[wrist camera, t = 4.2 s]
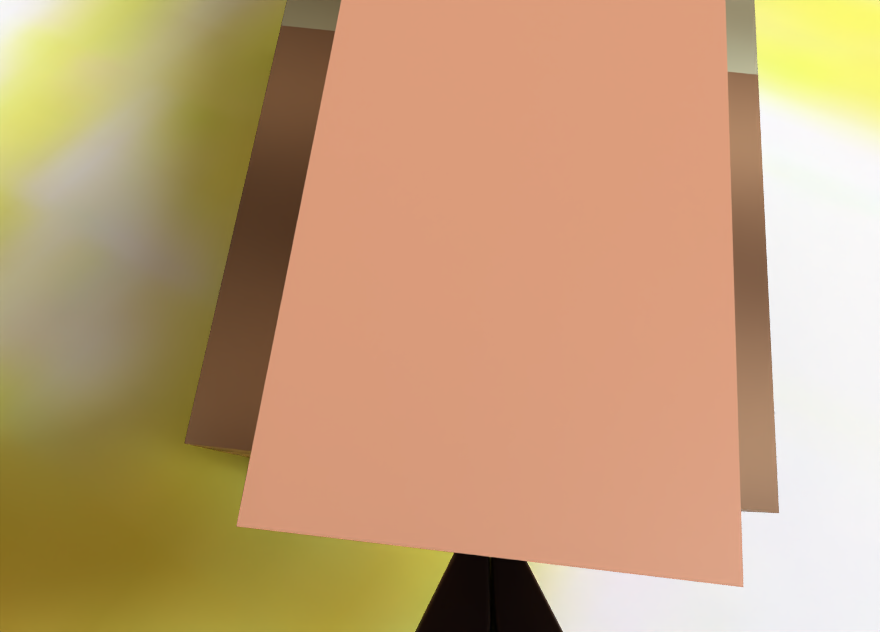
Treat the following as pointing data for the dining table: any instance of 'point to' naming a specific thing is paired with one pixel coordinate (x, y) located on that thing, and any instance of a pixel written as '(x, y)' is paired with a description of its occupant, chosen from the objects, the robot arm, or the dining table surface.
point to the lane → (277, 208)
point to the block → (514, 291)
